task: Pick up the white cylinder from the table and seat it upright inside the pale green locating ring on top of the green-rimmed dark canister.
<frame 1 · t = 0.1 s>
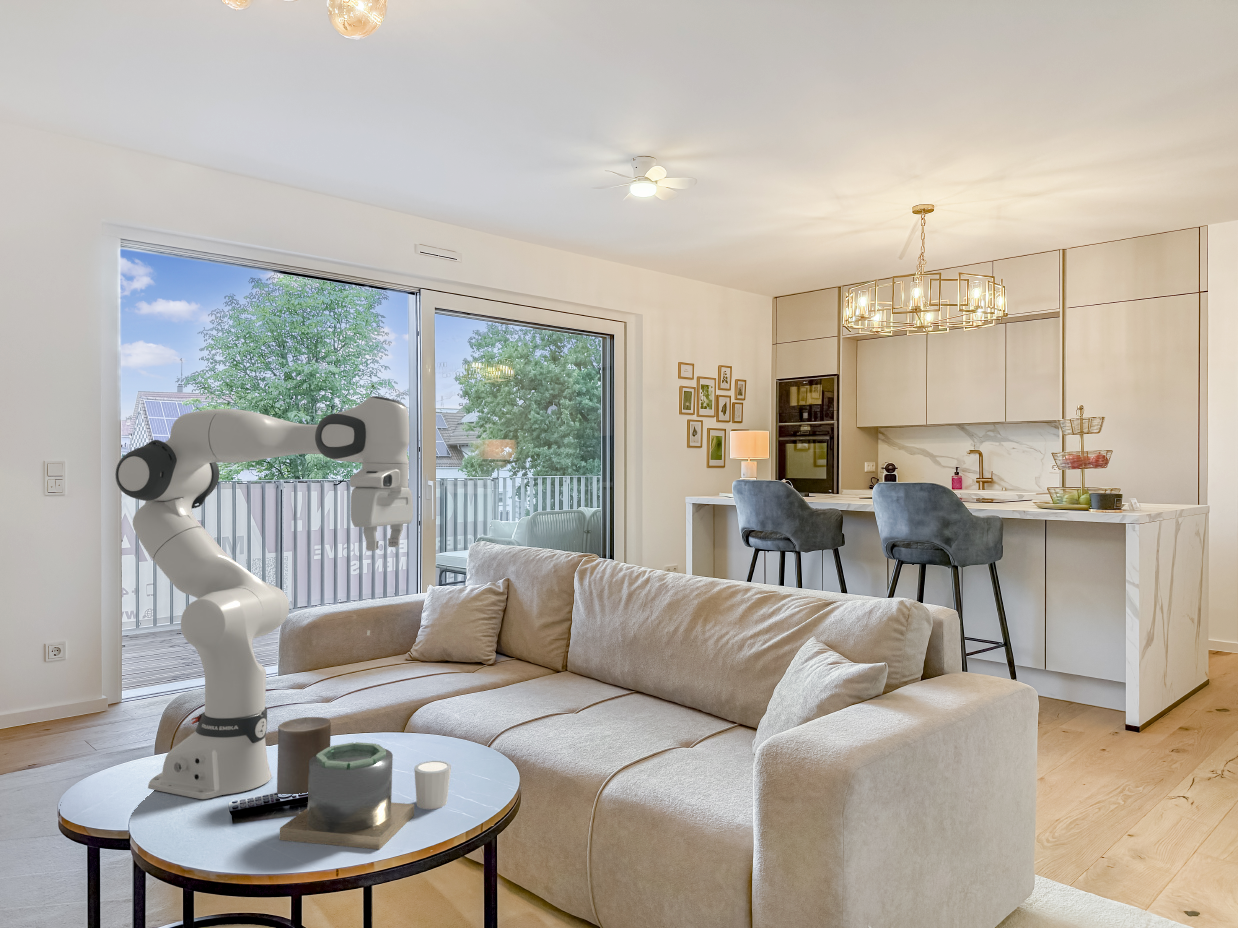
hand: (383, 548, 156), 48 cm above the table, tool pointing down, fingers open, 8 cm apart
pillar candle: (302, 795, 154), on the table
white cylinder: (431, 804, 151), on the table
green-rimmed dark canister: (349, 826, 140), on the table
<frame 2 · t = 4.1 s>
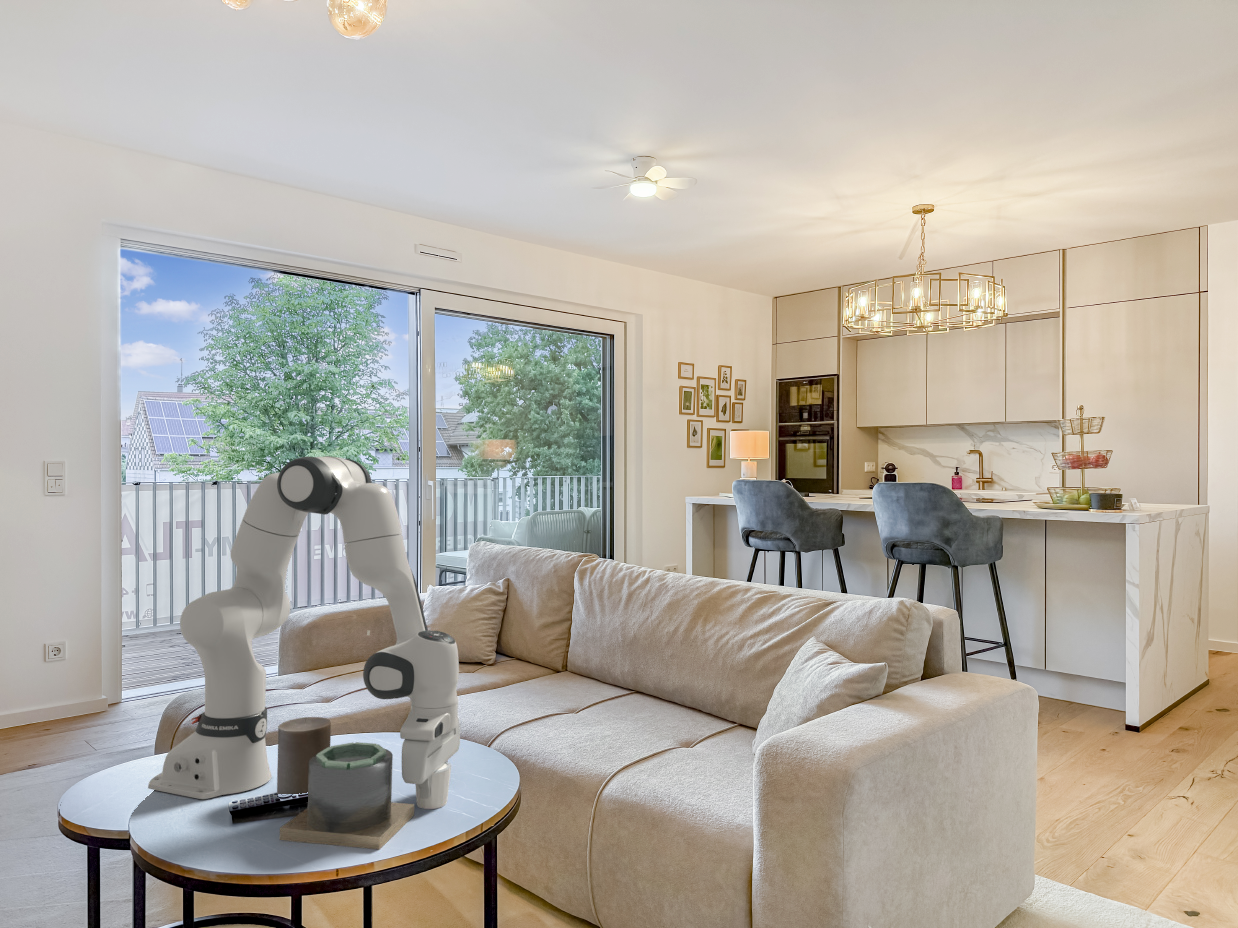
hand: (432, 790, 151), 2 cm above the table, tool pointing down, fingers closed on white cylinder, 5 cm apart
white cylinder: (431, 804, 151), on the table, touching gripper
everything else where it was.
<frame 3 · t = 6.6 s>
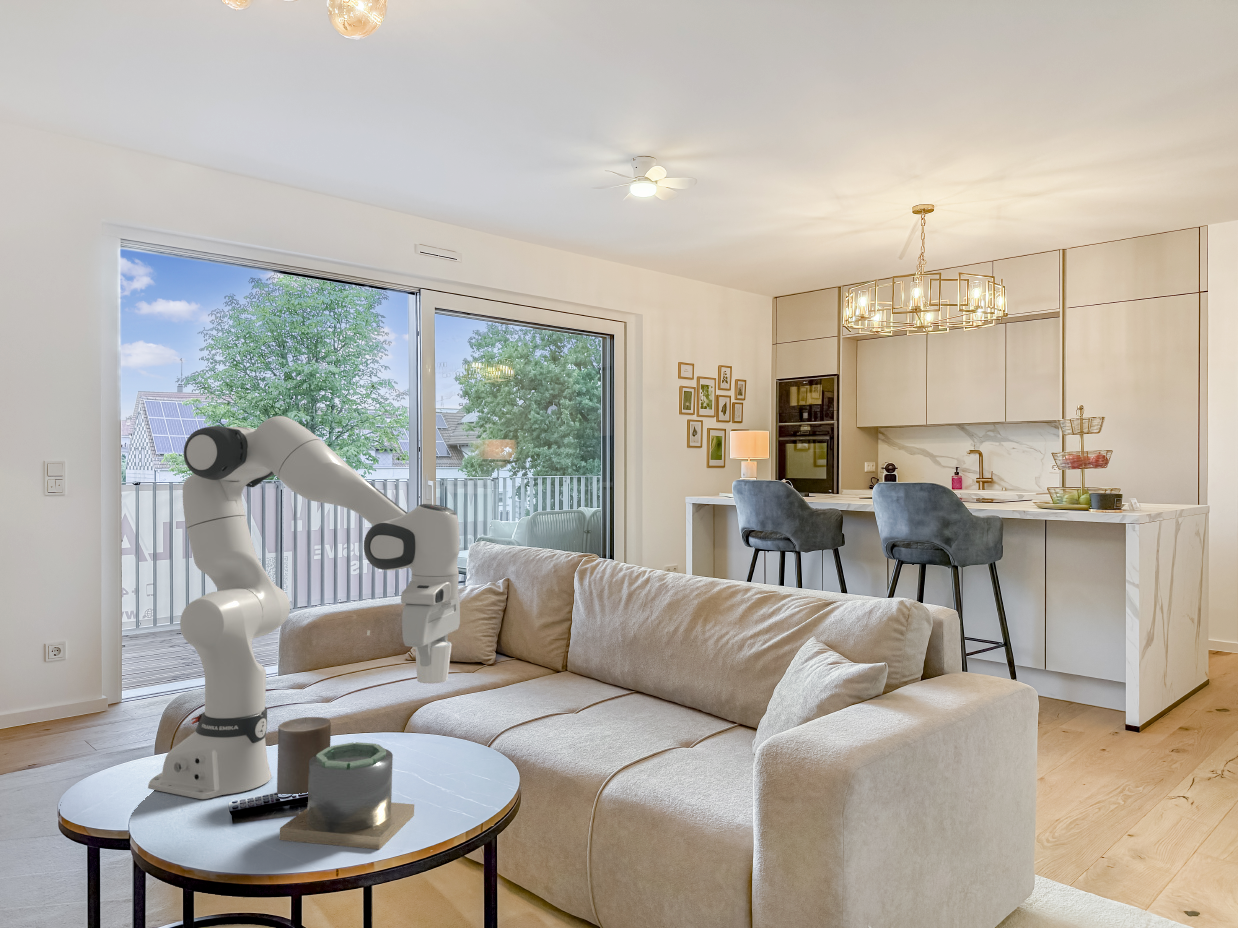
hand: (432, 661, 151), 27 cm above the table, tool pointing down, fingers closed on white cylinder, 5 cm apart
white cylinder: (432, 680, 151), point 23 cm above the table, touching gripper
everything else where it was.
when the fingers open (16 cm above the table, at t = 9.7 s): white cylinder stays where it is, resting on green-rimmed dark canister.
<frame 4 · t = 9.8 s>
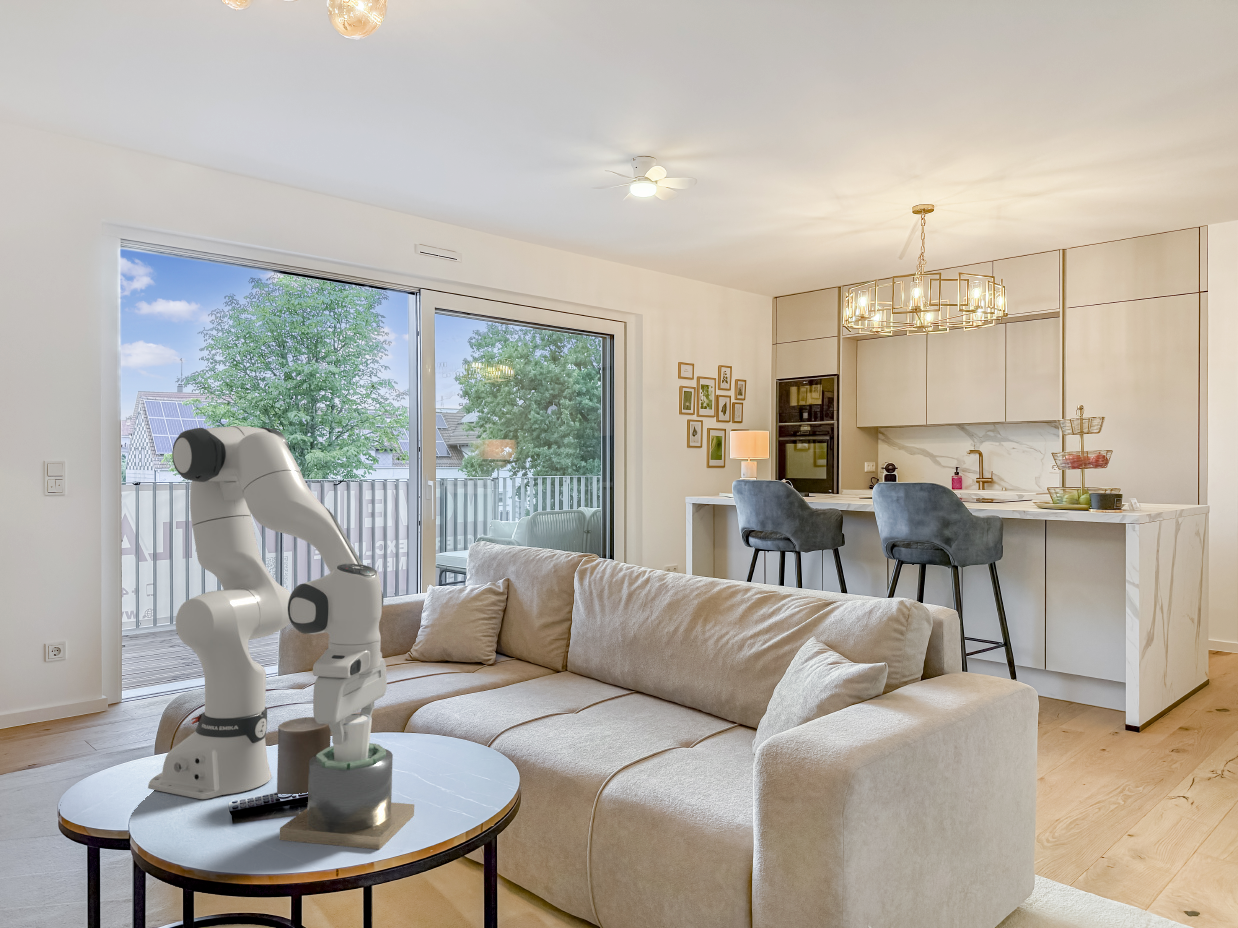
hand: (351, 735, 140), 16 cm above the table, tool pointing down, fingers open, 8 cm apart
white cylinder: (351, 759, 140), point 12 cm above the table, touching green-rimmed dark canister
everything else where it was.
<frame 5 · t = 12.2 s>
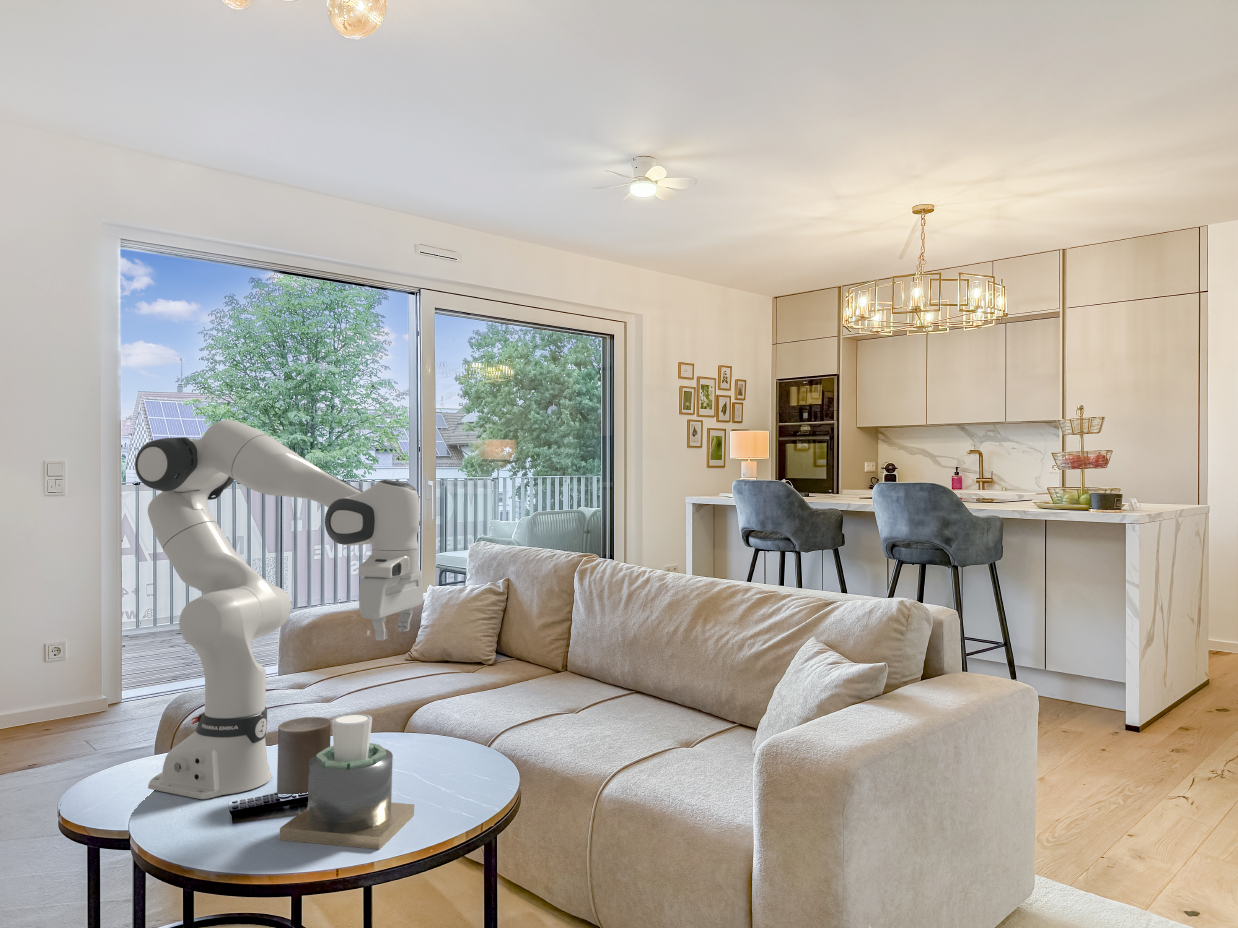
hand: (392, 635, 154), 31 cm above the table, tool pointing down, fingers open, 8 cm apart
nothing on the table moved.
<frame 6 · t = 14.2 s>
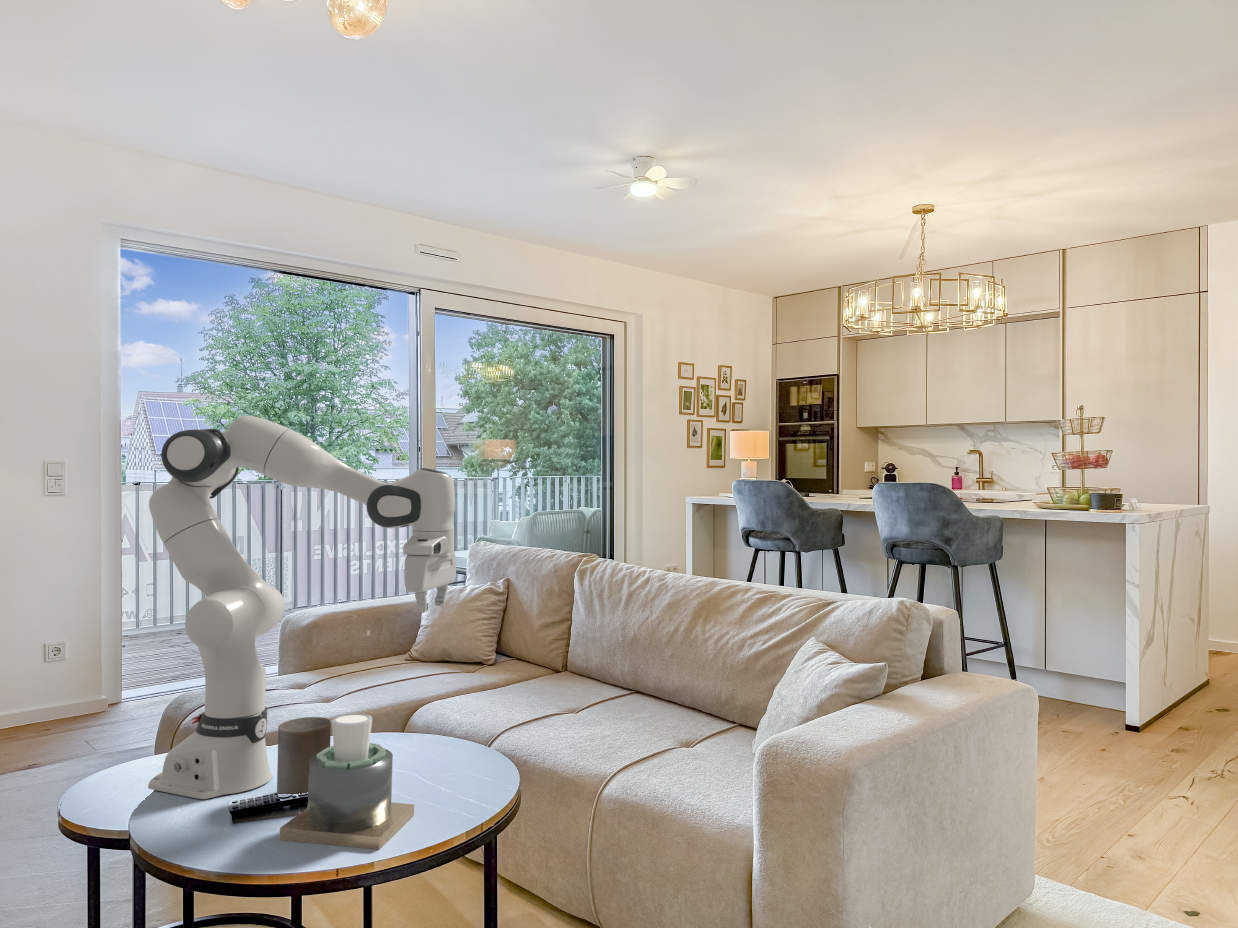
hand: (431, 608, 170), 34 cm above the table, tool pointing down, fingers open, 8 cm apart
nothing on the table moved.
at the end: white cylinder 0.1 cm off-centre on the green-rimmed dark canister, point 11.8 cm above the green-rimmed dark canister's base; white cylinder tilted 0°; the gripper is holding nothing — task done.
